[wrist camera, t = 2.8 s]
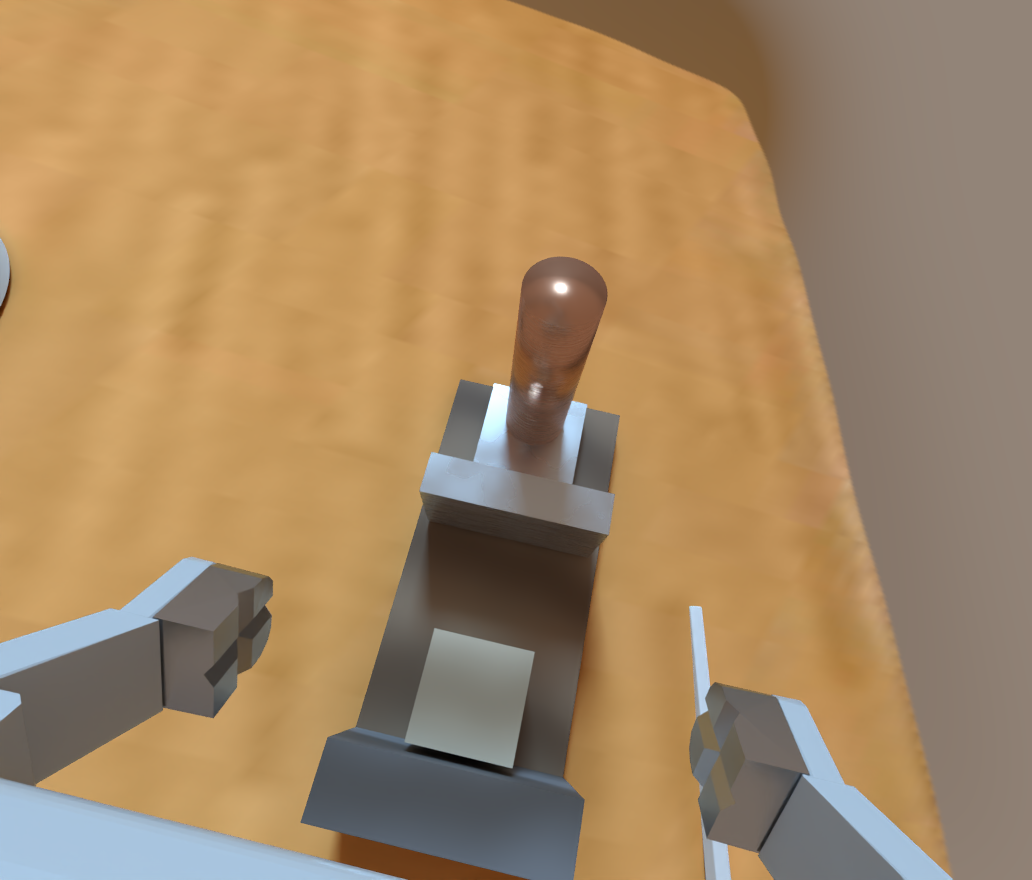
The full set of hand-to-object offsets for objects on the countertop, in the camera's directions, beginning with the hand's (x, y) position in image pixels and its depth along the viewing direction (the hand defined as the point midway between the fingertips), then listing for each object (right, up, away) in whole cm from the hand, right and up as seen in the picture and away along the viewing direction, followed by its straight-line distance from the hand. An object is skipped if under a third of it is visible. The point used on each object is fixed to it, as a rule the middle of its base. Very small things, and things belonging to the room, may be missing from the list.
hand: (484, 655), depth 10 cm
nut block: (-1, -7, +14) cm, 16 cm away
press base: (0, -3, +18) cm, 18 cm away
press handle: (+1, +2, +18) cm, 19 cm away
